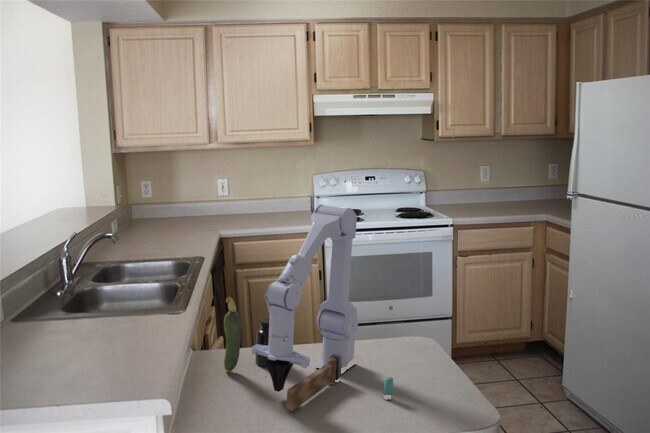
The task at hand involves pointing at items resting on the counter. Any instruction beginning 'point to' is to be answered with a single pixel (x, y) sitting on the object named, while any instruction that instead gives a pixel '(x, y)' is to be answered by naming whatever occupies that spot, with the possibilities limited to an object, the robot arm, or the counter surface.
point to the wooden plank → (311, 384)
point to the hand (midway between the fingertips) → (278, 389)
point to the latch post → (388, 386)
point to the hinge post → (337, 365)
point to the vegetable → (232, 336)
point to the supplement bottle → (262, 340)
